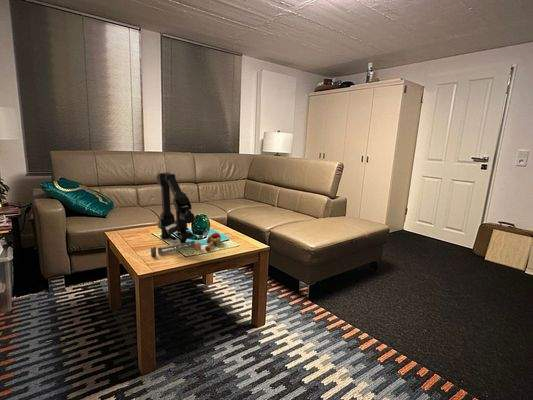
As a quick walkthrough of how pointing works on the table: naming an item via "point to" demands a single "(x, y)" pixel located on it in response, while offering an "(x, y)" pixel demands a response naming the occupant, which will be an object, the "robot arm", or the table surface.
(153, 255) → the hinge post
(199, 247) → the latch post
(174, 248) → the grey long rod
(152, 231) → the table surface
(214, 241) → the kendama
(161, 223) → the robot arm
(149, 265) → the table surface
